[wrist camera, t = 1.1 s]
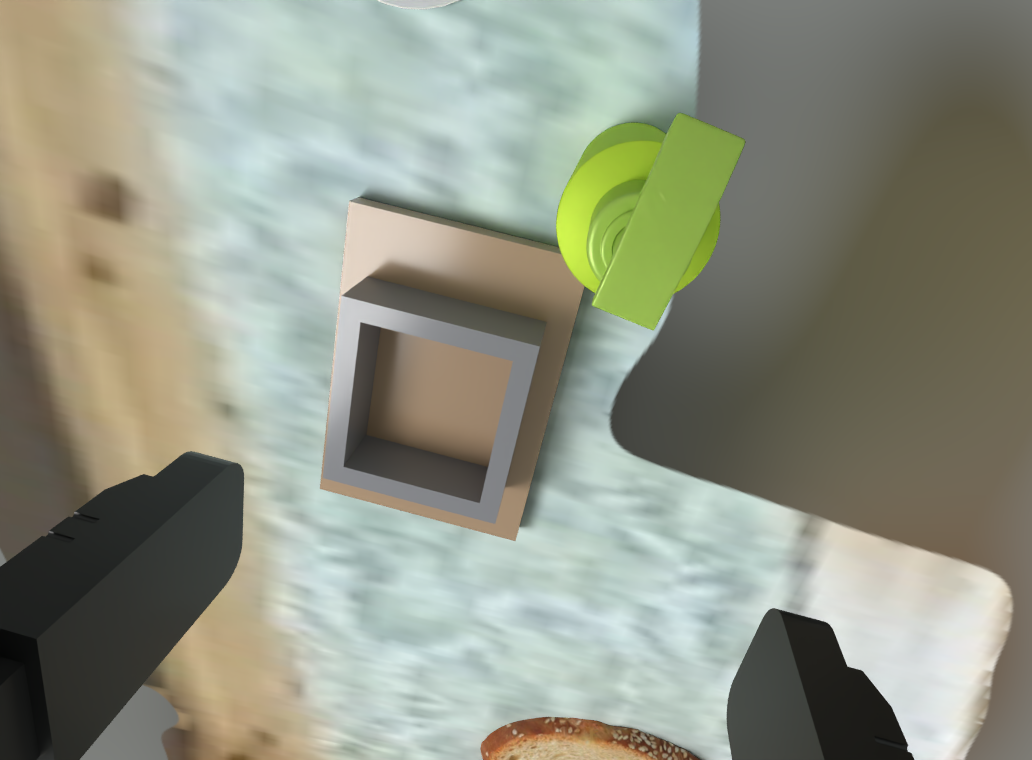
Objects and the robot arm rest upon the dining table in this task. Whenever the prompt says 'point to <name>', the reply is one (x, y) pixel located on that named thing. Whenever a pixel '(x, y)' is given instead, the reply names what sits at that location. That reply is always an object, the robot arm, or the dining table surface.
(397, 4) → the pudding
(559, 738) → the bread slice
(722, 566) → the dining table surface
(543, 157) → the dining table surface
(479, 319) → the soap caddy
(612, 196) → the soap dispenser
